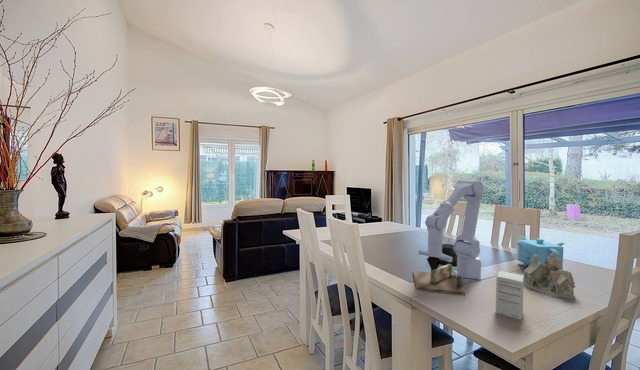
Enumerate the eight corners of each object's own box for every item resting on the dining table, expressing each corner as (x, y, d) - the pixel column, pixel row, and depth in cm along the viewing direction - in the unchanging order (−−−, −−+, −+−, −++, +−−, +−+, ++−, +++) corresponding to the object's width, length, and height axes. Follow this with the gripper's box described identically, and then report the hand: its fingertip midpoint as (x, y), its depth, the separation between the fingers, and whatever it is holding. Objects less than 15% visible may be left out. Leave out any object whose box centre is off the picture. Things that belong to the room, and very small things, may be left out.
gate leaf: (448, 274, 128) (448, 263, 128) (452, 275, 126) (452, 264, 126) (429, 282, 118) (429, 270, 118) (433, 283, 117) (433, 272, 117)
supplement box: (497, 305, 101) (499, 270, 101) (523, 311, 97) (524, 275, 96) (494, 312, 96) (495, 276, 95) (521, 320, 91) (523, 281, 90)
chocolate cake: (452, 256, 162) (452, 240, 162) (477, 267, 143) (478, 249, 143) (420, 257, 159) (420, 241, 158) (442, 269, 139) (442, 251, 139)
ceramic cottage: (519, 278, 127) (522, 246, 125) (566, 287, 119) (570, 252, 118) (526, 294, 113) (529, 257, 111) (579, 304, 106) (584, 265, 104)
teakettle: (560, 277, 129) (561, 245, 128) (511, 267, 143) (512, 238, 142) (564, 268, 142) (566, 239, 142) (519, 259, 156) (520, 233, 155)
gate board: (455, 276, 129) (455, 265, 129) (465, 295, 109) (466, 282, 109) (413, 272, 133) (413, 262, 133) (416, 289, 114) (416, 277, 114)
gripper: (414, 241, 124) (413, 271, 125) (446, 248, 113) (445, 281, 114) (423, 238, 129) (422, 268, 129) (455, 245, 117) (454, 277, 118)
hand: (434, 274), depth 122 cm, fingers closed
